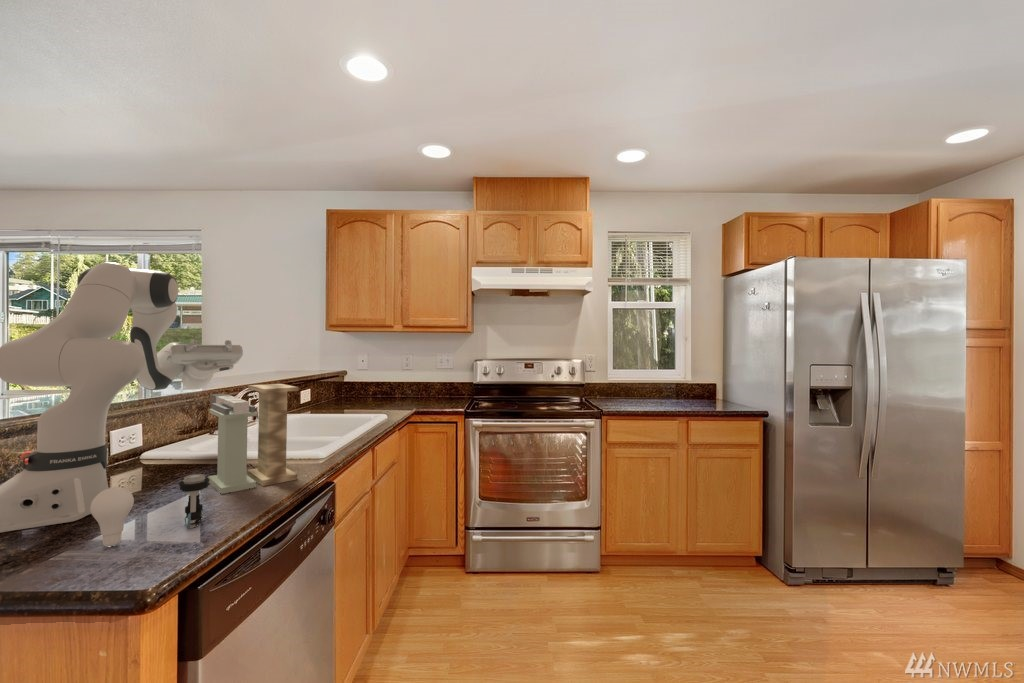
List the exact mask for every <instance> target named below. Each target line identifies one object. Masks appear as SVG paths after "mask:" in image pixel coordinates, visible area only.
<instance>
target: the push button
mask: <svg viewBox="0 0 1024 683" xmlns="http://www.w3.org/2000/svg"><path fill="white" fill-rule="evenodd" d="M209 480H210V479H209V478H208V477H206V476H205V474H203V473H196V474H189V475H186V476H184V478H183V479H182V480H181V481H179V482H178V486H179V491H181V492H183V493H184V494H188V502H187V505H186V506H185V507H184V513H185V517H184V525H187V528H188V527H190V528H189V529H193V528H196V527H198V526H199V523H198V522H200V521H202V519H203V510H204V508H203V507H204V505H203V504H202V503H201V499H200V498H201V497H200V496H201V495H200V492H202V491H204V490H205V489H207V488H208V487H209ZM201 518H202V519H201ZM186 523H187V524H186ZM197 525H198V526H197ZM195 526H196V527H195Z"/></svg>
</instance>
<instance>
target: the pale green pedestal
mask: <svg viewBox="0 0 1024 683" xmlns="http://www.w3.org/2000/svg"><path fill="white" fill-rule="evenodd" d="M208 411H209V414H211V415H213V416H215V417H217V419H218V420H217V464H216V465H217V471H216V472H217V473H216V474H215V475H214V474H213V475H209V476H207V478H209V479H210V480H209V482H208V484H210V485H211V486H212V487H213V488H214V489H215V490H216V491H217V492H218V491H219V492H218V493H219V494H220V493H221V494H220V495H224V494H228V493H229V492H230V493H233V492H239V491H244V490H249V488H250V489H254V487H255V488H257V482H256V481H254V480H253V479H252V478H250V477H249V476H248V475H247V470H248V469H247V467H248V466H247V465H248V418H249V417H258V411H256V406H255V405H252V404H249V413H248V414H236V415H233V414H231V413H229V408H227V407H224V406H222V405H219V404H217V403H212V405H211V408H209V410H208Z"/></svg>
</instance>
